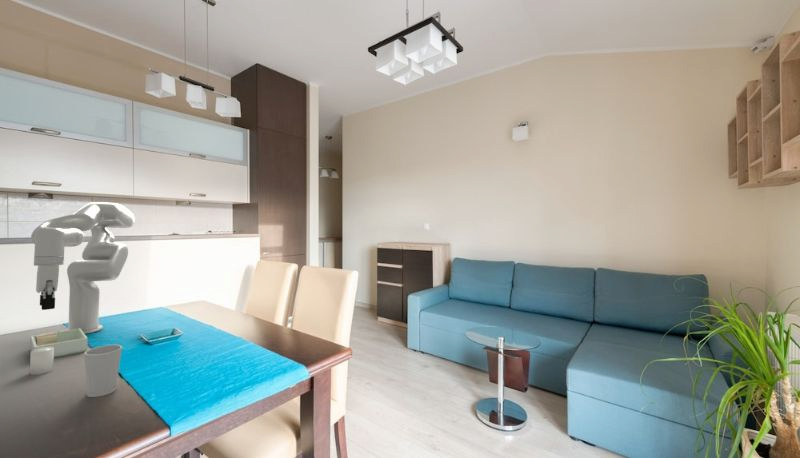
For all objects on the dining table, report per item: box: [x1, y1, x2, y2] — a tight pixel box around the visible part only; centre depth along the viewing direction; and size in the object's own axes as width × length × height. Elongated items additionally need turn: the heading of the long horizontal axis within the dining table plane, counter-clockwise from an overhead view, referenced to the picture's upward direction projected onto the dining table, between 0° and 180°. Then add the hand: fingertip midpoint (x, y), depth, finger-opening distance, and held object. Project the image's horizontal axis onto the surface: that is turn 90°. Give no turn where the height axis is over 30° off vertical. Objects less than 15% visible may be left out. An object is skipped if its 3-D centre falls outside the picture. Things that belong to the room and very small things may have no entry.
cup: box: [83, 344, 123, 398], centre depth 92 cm, size 8×8×12 cm
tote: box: [30, 328, 89, 359], centre depth 120 cm, size 17×13×5 cm
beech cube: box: [35, 331, 57, 346], centre depth 120 cm, size 5×5×5 cm
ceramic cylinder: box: [29, 347, 55, 376], centre depth 103 cm, size 5×5×7 cm
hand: (47, 307), depth 119 cm, fingers open, 9 cm apart
